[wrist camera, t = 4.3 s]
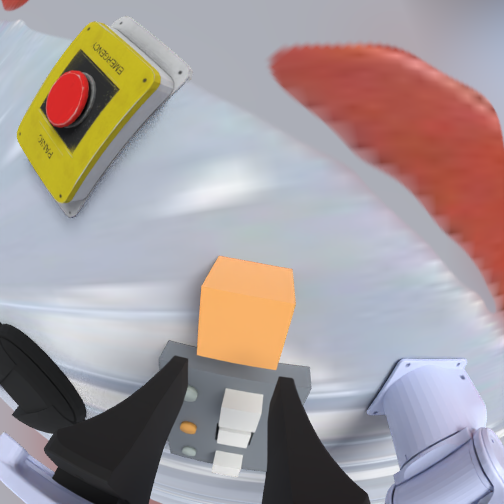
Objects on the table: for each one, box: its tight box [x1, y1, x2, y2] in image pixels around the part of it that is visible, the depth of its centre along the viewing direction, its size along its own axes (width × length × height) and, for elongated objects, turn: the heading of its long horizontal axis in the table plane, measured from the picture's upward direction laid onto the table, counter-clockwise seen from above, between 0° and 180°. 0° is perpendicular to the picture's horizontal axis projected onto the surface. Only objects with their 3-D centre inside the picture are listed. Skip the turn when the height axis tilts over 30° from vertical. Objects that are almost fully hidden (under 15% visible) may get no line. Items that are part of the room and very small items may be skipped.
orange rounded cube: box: [197, 256, 296, 370], centre depth 17 cm, size 5×5×4 cm
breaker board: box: [159, 340, 311, 477], centre depth 22 cm, size 12×18×4 cm, turn 171°
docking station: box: [0, 323, 86, 434], centre depth 30 cm, size 25×41×5 cm, turn 124°
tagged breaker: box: [217, 427, 251, 448], centre depth 23 cm, size 3×3×3 cm
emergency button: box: [17, 16, 193, 217], centre depth 14 cm, size 9×4×15 cm
